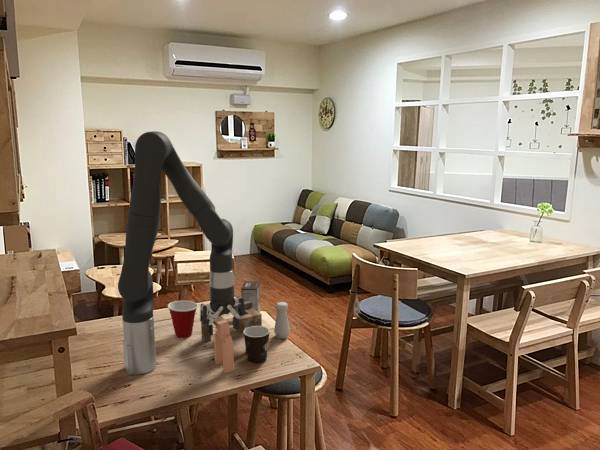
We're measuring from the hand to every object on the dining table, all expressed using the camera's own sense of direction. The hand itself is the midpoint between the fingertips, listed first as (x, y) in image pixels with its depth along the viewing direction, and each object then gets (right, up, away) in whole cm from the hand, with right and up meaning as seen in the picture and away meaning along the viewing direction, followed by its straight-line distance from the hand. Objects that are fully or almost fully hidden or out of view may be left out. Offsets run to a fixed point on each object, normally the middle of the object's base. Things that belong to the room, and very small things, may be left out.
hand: (223, 331), depth 158 cm
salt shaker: (+18, -7, +24) cm, 31 cm away
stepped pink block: (0, -12, +3) cm, 12 cm away
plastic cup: (-18, -7, +25) cm, 32 cm away
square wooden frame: (0, -8, +19) cm, 20 cm away
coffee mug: (+9, -11, +6) cm, 16 cm away
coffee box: (+6, -5, +35) cm, 36 cm away
